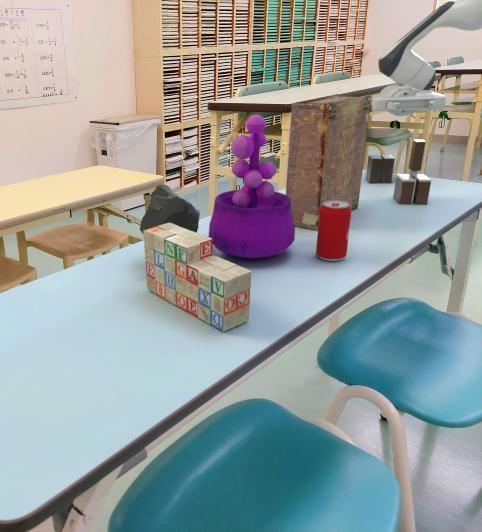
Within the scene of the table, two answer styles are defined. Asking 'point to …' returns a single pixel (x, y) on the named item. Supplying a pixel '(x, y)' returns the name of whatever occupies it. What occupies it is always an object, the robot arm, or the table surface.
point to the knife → (416, 159)
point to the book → (325, 154)
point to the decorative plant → (252, 204)
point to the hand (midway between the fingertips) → (414, 105)
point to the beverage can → (333, 230)
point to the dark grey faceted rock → (169, 210)
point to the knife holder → (380, 168)
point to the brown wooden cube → (411, 189)
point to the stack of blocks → (196, 276)
